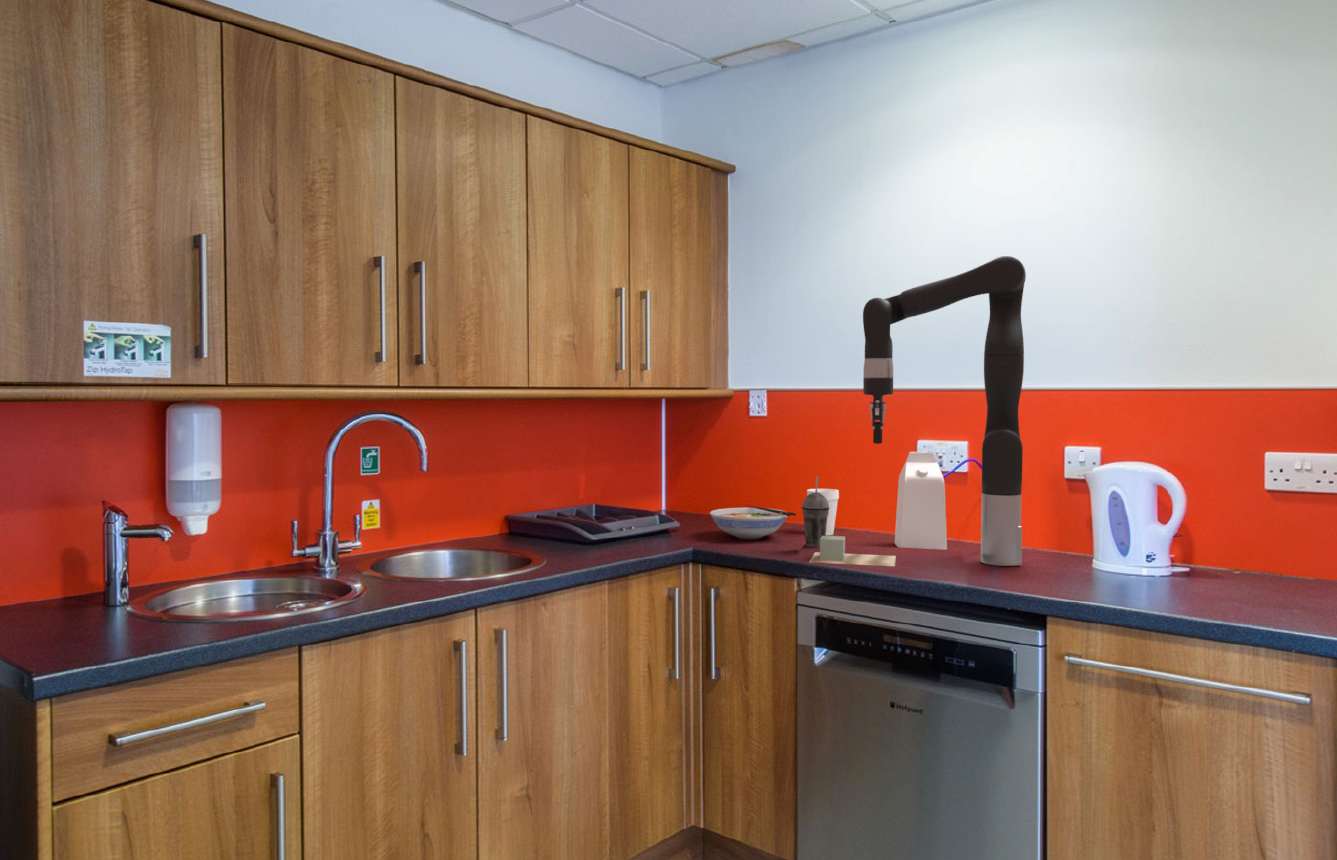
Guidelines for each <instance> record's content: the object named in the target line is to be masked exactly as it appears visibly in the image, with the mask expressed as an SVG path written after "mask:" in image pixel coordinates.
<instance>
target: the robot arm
mask: <svg viewBox="0 0 1337 860" xmlns="http://www.w3.org/2000/svg"><path fill="white" fill-rule="evenodd" d="M1026 274H1027V273H1026V269H1025V266H1024V264H1023V262H1022V261H1021V260H1020V258H1018V257H1016V256H1013V255H1008V254H1004V255H999V256H997V257H995V258H993V259H992V260H990V261H987V262H985V263H983V264H982V265H979V266H977V267H975V268H972V269H970V270H967V271H965V272H962V273H959V274H957V275H954V276H951V277H945V278H943V279H940V280H936V281H933V282H929V283H925V284H922V285H919V286H915V287H912V288H909V289H907V290H903V291H902V292H901V293H899V294H897V295H893V296H890V297H887V298H881V297H873V298H871V299H870V300H868V301H867V302H866V303H865V305H864V307H863V309H862V310H863V311H862V324H863V333H864V360H863V361H864V363H863V382H862V383H863V386H862V387H863V388H862V389H863V391H862V393H863V395H865V396H872V398H873V399H872V401H870V402H869V409H870V419H871V421H872V422H871V426H872V429H873V430H872V432H873V435H872V440H873V441H872V442H873V444H876V445H877V444H879V445H880V444H882V443H883V429H884V425H885V424H884V420H885V418H886V409H887V402H886V401H885V402H884V396H891V395H893V394H894V362H893V352H894V351H893V339H892V337H891V325H893V324H896V323H899V322H901V321H903V320H907V319H908V318H911V317H912V318H913V317H917V316H921V315H924V314H925V315H926V314H928V313H931V312H934V311H937V310H940V309H943V308H945V307H949V306H951V305H952V304H954V303H957V302H960V301H962V300H965V299H969V298H972V297H975V296H981V295H985V294H988V301H989V302H988V303H989V319H988V326H987V329H986V335H985V343H984V352H983V381H984V382H983V383H984V391H985V399H986V423H985V430H984V437H983V441H982V446H981V508H980V509H981V510H980V511H981V513H980V514H981V515H980V517H981V521H980V522H981V523H980V562H981V563H983V564H985V565H990V566H1003V567H1008V566H1009V567H1014V566H1022V563H1023V562H1022V561H1023V559H1022V558H1023V557H1022V556H1023V555H1022V554H1023V551H1022V550H1023V526H1022V488H1023V460H1024V459H1023V456H1024V454H1023V453H1024V452H1023V451H1024V449H1023V443H1022V440H1021V435H1020V433H1021V432H1020V424H1019V406H1020V405H1019V404H1020V400H1021V399H1020V398H1021V394H1022V388H1023V380H1024V372H1025V371H1024V369H1025V366H1024V365H1025V363H1024V362H1025V349H1024V347H1025V346H1024V345H1025V344H1024V333H1023V324H1022V323H1023V322H1022V303H1023V296H1024V295H1023V294H1024V287H1025V282H1026V276H1027V275H1026Z"/></svg>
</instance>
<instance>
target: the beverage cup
mask: <svg viewBox="0 0 1337 860" xmlns="http://www.w3.org/2000/svg"><path fill="white" fill-rule="evenodd" d="M818 485H819V476H818V475H816V476H815V489H816V492H815V493H811V494H809V495H808V496H807V495H806V496H805V497H804V499H803V501H802V505H801V510H802V516H803V525H804V527H803V528H804V538H805V539H804V540H805V547H807V548H820V538H821V537H822V536H827V535H826V525H827V516H828V512H829V504H828V501H827V499H826V498H825V497H824V496H823V495H822V494H820V493H817V489H819V487H818Z"/></svg>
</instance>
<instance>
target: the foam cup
mask: <svg viewBox="0 0 1337 860" xmlns="http://www.w3.org/2000/svg"><path fill="white" fill-rule="evenodd" d="M839 491H840V490H839V489H833V488H818V489H817V493H820V494H822V495H823V496H824V497H825V498H826V499H827V501H828V504H829V512H828V516H827V525H826V536H833V535H834V531H835V526H836V525H835V524H836V523H835V522H836V517H837V511H838V502H839V499H840V492H839ZM815 492H816V488H809V489H807V490H806V494H807V495H806V496H808V495H809V494H811V493H815Z"/></svg>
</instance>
